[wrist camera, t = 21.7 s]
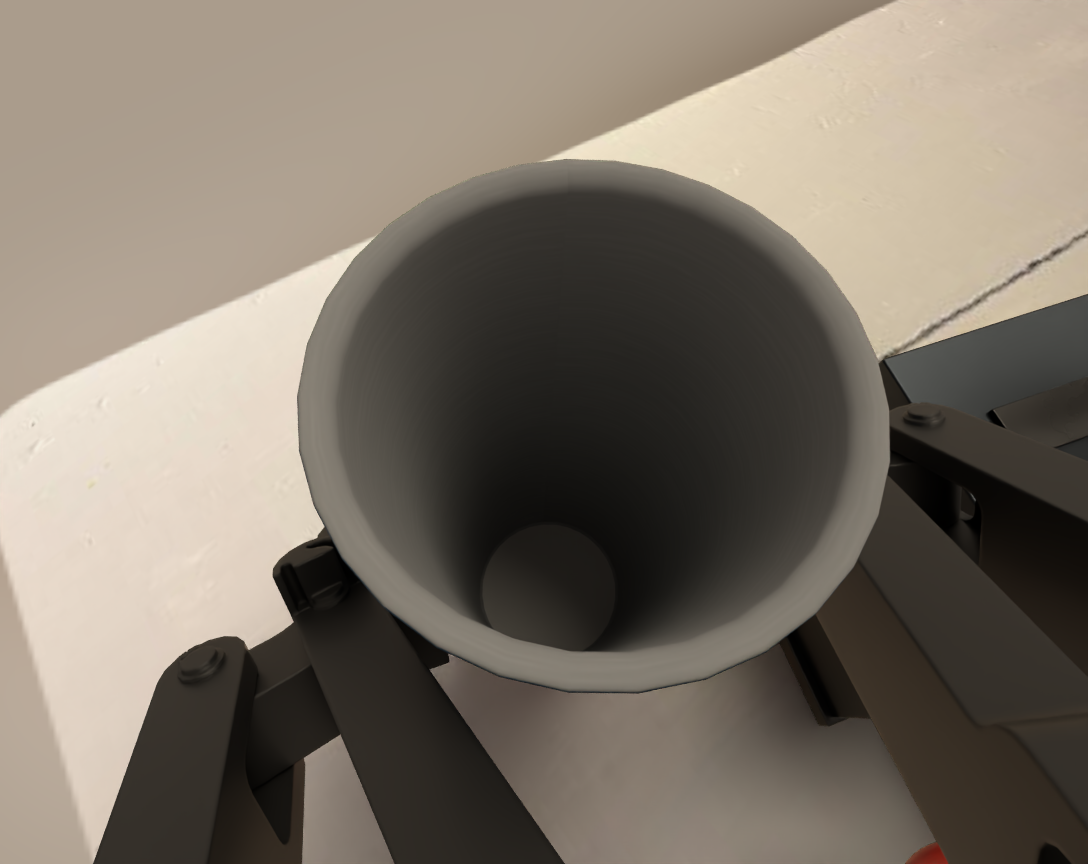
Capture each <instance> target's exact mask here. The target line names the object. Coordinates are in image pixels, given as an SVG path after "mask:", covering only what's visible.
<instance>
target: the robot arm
mask: <svg viewBox="0 0 1088 864" xmlns="http://www.w3.org/2000/svg"><path fill="white" fill-rule="evenodd" d="M889 439H890V463H889V468H888V473H887V477H886V482H885V487H884V491H883V496H882V501H881V505H880V510H879V515H878V517H877V519H876V522H875V524H874V526H873V528H872V530H871V532H870V534H869V536H868V538H867V540H866V543H865V545H864V547H863V549H862V551H861V553H860V555H859V557H858V559H857V561H856V563H855V566H854V568H853V569H852V570H851V571H850V573H849V574H848V575H847V576H846V578H845V579H844V580H843V581H842V582H841V584H840V585H839V586H838V587H837V589H836V590H835V591H834V592H833V594H832V595H831V596H830V597H829V598H828V600H827V601H826V602H825V603H824V605H823V606H822V607H821V608H820V610H819V611H818V612H817V613H816V616H817V618H818V620H819V622H820V624H821V625H822V627H823V629H824V631H825V633H826V635H827V637H828V639H829V640H830V642H831V644H832V646H833V648H834V650H835V652H836V654H837V655H838V657H839V659H840V661H841V663H842V665H843V667H844V669H845V670H846V672H847V674H848V676H849V678H850V680H851V682H852V684H853V685H854V687H855V689H856V691H857V693H858V695H859V697H860V699H861V701H862V702H863V704H864V706H865V708H866V710H867V712H868V714H869V716H870V717H871V719H872V721H873V723H874V725H875V727H876V729H877V731H878V732H879V734H880V736H881V738H882V740H883V742H884V744H885V746H886V747H887V749H888V751H889V753H890V755H891V757H892V759H893V761H894V762H895V764H896V766H897V768H898V770H899V772H900V774H901V776H902V777H903V779H904V781H905V783H906V785H907V787H908V789H909V791H910V792H911V794H912V796H913V798H914V800H915V802H916V804H917V806H918V807H919V809H920V811H921V813H922V815H923V817H924V819H925V821H926V822H927V824H928V826H929V828H930V830H931V832H932V834H933V836H934V838H935V839H936V841H937V843H938V845H939V847H940V849H941V851H942V853H943V854H944V856H945V858H946V860H947V862H948V864H1088V461H1086V460H1084V459H1081V458H1079V457H1076V456H1073V455H1071V454H1068V453H1066V452H1063V451H1061V450H1058V449H1056V448H1053V447H1051V446H1048V445H1046V444H1043V443H1041V442H1038V441H1036V440H1033V439H1031V438H1028V437H1026V436H1023V435H1020V434H1018V433H1015V432H1013V431H1010V430H1008V429H1005V428H1003V427H1000V426H998V425H995V424H993V423H990V422H988V421H985V420H983V419H980V418H978V417H975V416H973V415H970V414H967V413H965V412H962V411H960V410H957V409H955V408H951V407H948V406H944V405H937V404H931V403H928V402H920V404H919V403H911V404H909V405H905V406H900V407H897V408H895V409H892V410H890V411H889ZM962 488H964V489H965V490H967V491H968V492H969V493H971V494H972V495H973V497H974V498H975V499H976V501H975V513H974V516H971V515H968V514H967V513H965V512H963V511H961V491H962ZM273 578H274V581H275V583H276V585H277V587H278V589H279V591H280V593H281V595H282V598H283V600H284V602H285V604H286V606H287V608H288V610H289V612H290V614H291V617H292V619H293V621H294V622H293V623H292V624H291V625H290V626H289V627H287V628H286V629H285V630H283V631H282V632H280V633H279V634H277V635H275V636H274V637H272V638H270V639H269V640H267V641H265V642H263V643H261V644H259V645H258V646H256V647H254V648H252V649H250V650H248V648H247V646H246V644H245V642H244V641H243V640H241V639H240V638H238V637H232V636H224V637H220V638H216V639H212V640H209V641H206V642H204V643H202V644H200V645H196V646H194V647H193V648H191V649H189V650H188V652H185V653H183V654H182V655H181V656H179V657H178V658H177V659H176V660H175V661H174V662H173V663H172V664H171V665H170V666H169V667H168V668H167V669H166V670H165V671H164V673H163V674H162V676H161V678H160V679H159V681H158V683H157V685H156V688H155V691H154V694H153V697H152V700H151V702H150V705H149V708H148V711H147V714H146V716H145V719H144V722H143V725H142V728H141V731H140V733H139V736H138V739H137V742H136V745H135V747H134V750H133V753H132V756H131V759H130V762H129V764H128V767H127V770H126V773H125V776H124V778H123V781H122V784H121V787H120V790H119V793H118V795H117V798H116V801H115V804H114V807H113V809H112V812H111V815H110V818H109V821H108V824H107V826H106V829H105V832H104V835H103V838H102V840H101V843H100V846H99V849H98V852H97V855H96V857H95V860H94V863H93V864H302V846H303V817H304V787H305V762H304V757H306V756H307V755H309V754H311V753H312V752H314V751H315V750H317V749H318V748H320V747H321V746H323V745H325V744H326V743H328V742H329V741H331V740H332V739H334V738H335V737H337V736H339V735H340V734H341V737H342V739H343V741H344V744H345V746H346V748H347V751H348V753H349V756H350V758H351V760H352V763H353V765H354V768H355V770H356V772H357V775H358V777H359V780H360V782H361V784H362V787H363V789H364V792H365V794H366V796H367V799H368V801H369V804H370V806H371V808H372V811H373V813H374V816H375V818H376V820H377V823H378V825H379V828H380V830H381V832H382V835H383V837H384V840H385V842H386V844H387V847H388V849H389V852H390V854H391V856H392V859H393V861H394V864H564V862H563V861H562V859H561V858H560V856H559V855H558V854H557V852H556V851H555V849H554V848H553V846H552V845H551V844H550V842H549V841H548V839H547V838H546V836H545V835H544V833H543V832H542V831H541V829H540V828H539V826H538V825H537V823H536V822H535V821H534V819H533V818H532V816H531V815H530V813H529V812H528V811H527V809H526V808H525V806H524V805H523V803H522V802H521V801H520V799H519V798H518V796H517V795H516V793H515V792H514V790H513V789H512V788H511V786H510V785H509V783H508V782H507V780H506V779H505V778H504V776H503V775H502V773H501V772H500V770H499V769H498V768H497V766H496V765H495V763H494V762H493V760H492V759H491V758H490V756H489V755H488V753H487V752H486V750H485V749H484V747H483V746H482V745H481V743H480V742H479V740H478V739H477V737H476V736H475V735H474V733H473V732H472V730H471V729H470V727H469V726H468V725H467V723H466V722H465V720H464V719H463V717H462V716H461V715H460V713H459V712H458V710H457V709H456V707H455V706H454V704H453V703H452V702H451V700H450V699H449V697H448V696H447V694H446V693H445V692H444V690H443V689H442V687H441V686H440V684H439V683H438V682H437V680H436V679H435V677H434V676H433V674H432V673H431V672H430V670H429V669H432V668H435V667H437V666H440V665H443V664H446V663H448V662H449V656H448V653H447V652H445V651H443V650H440V649H438V648H436V647H435V646H434V645H432V644H431V643H430V642H428V641H427V640H426V639H424V638H423V637H422V636H421V635H419V634H418V633H417V632H415V631H414V630H413V629H411V628H410V627H409V626H407V625H406V624H405V623H403V622H402V621H401V620H399V619H398V618H397V617H395V616H394V615H393V614H391V613H390V612H389V611H387V610H386V609H385V608H383V606H382V605H381V604H380V603H379V602H378V601H377V599H376V598H375V597H374V596H373V595H372V594H371V592H370V591H369V590H368V589H367V588H366V587H365V585H364V584H363V583H362V582H361V581H360V579H359V578H358V577H357V576H356V575H355V574H354V572H353V571H352V570H351V569H350V568H349V567H348V565H347V564H346V563H345V562H344V561H343V560H342V558H341V556H340V554H339V552H338V551H337V549H336V547H335V545H334V543H333V541H332V539H331V537H330V535H329V533H328V532H327V530H326V528H325V527H324V528H323V530H322V531H321V532H320V533H319V535H318V538H316V539H314V540H311V541H308V542H305V543H303V544H301V545H300V546H298V547H296V548H294V549H292V550H291V551H289V552H288V553H287V554H286V555H284V556H283V557H282V558H281V559H280V560H279V561H278V562H277V564H276V565H275V567H274V568H273Z"/></svg>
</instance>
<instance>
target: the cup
mask: <svg viewBox="0 0 1088 864" xmlns="http://www.w3.org/2000/svg"><path fill="white" fill-rule="evenodd" d="M297 405H298V433H299V452H300V456H301V460H302V463H303V467H304V471H305V475H306V478H307V482H308V486H309V490H310V493H311V497H312V501H313V504H314V507H315V509H316V511H317V513H318V515H319V516H320V518H321V520H322V522H323V524H324V526H325V528H326V530H327V532H328V533H329V535H330V537H331V539H332V541H333V543H334V545H335V547H336V549H337V551H338V552H339V554H340V556H341V558H342V560H343V561H344V562H345V563H346V564H347V565H348V567H349V568H350V569H351V570H352V571H353V572H354V574H355V575H356V576H357V577H358V578H359V579H360V581H361V582H362V583H363V584H364V585H365V587H366V588H367V589H368V590H369V591H370V592H371V594H372V595H373V596H374V597H375V598H376V599H377V601H378V602H379V603H380V604H381V605H382V606H383V608H385V609H386V610H387V611H389V612H390V613H391V614H393V615H394V616H395V617H397V618H398V619H399V620H401V621H402V622H403V623H405V624H406V625H407V626H409V627H410V628H411V629H413V630H414V631H415V632H417V633H418V634H419V635H421V636H422V637H423V638H424V639H426V640H427V641H428V642H430V643H431V644H432V645H434V646H435V647H436V648H438V649H440V650H443V651H445V652H447V653H449V654H451V655H453V656H456V657H458V658H460V659H462V660H464V661H466V662H468V663H471V664H473V665H475V666H477V667H479V668H481V669H484V670H486V671H488V672H490V673H492V674H494V675H496V676H499V677H502V678H506V679H511V680H515V681H520V682H524V683H528V684H533V685H537V686H542V687H546V688H550V689H555V690H559V691H564V692H568V693H643V692H648V691H653V690H657V689H662V688H667V687H672V686H677V685H682V684H687V683H691V682H696V681H701V680H706V679H708V678H710V677H712V676H715V675H717V674H719V673H721V672H723V671H726V670H728V669H730V668H732V667H735V666H737V665H739V664H741V663H743V662H746V661H748V660H750V659H752V658H754V657H757V656H759V655H761V654H763V653H765V652H767V651H768V650H770V649H771V648H772V647H773V646H775V645H776V644H777V643H779V642H780V641H781V640H783V639H784V638H785V637H787V636H788V635H789V634H790V633H792V632H793V631H794V630H796V629H797V628H798V627H800V626H801V625H802V624H803V623H805V622H806V621H807V620H809V619H810V618H811V617H813V616H814V615H815V614H816V613H817V612H818V611H819V610H820V608H821V607H822V606H823V605H824V603H825V602H826V601H827V600H828V598H829V597H830V596H831V595H832V594H833V592H834V591H835V590H836V589H837V587H838V586H839V585H840V584H841V582H842V581H843V580H844V579H845V578H846V576H847V575H848V574H849V573H850V571H851V570H852V569H853V568H854V566H855V563H856V561H857V559H858V557H859V555H860V553H861V551H862V549H863V547H864V545H865V543H866V540H867V538H868V536H869V534H870V532H871V530H872V528H873V526H874V524H875V522H876V519H877V517H878V515H879V510H880V505H881V501H882V496H883V491H884V487H885V482H886V477H887V473H888V468H889V463H890V439H889V407H888V402H887V398H886V394H885V389H884V385H883V381H882V376H881V372H880V368H879V363H878V359H877V357H876V355H875V352H874V350H873V348H872V346H871V344H870V341H869V339H868V337H867V335H866V333H865V330H864V328H863V326H862V324H861V322H860V319H859V317H858V315H857V313H856V311H855V310H854V308H853V307H852V305H851V304H850V303H849V301H848V300H847V298H846V297H845V295H844V294H843V293H842V291H841V290H840V288H839V287H838V286H837V284H836V283H835V281H834V280H833V278H832V277H831V276H830V274H829V273H828V271H827V270H826V269H825V268H824V267H823V266H822V265H821V264H820V263H819V262H818V261H817V260H816V259H815V258H814V257H813V256H812V255H811V254H810V253H809V252H808V251H807V250H806V249H805V248H804V247H803V246H802V245H801V244H800V243H799V242H798V241H797V240H796V239H795V238H794V237H793V236H792V235H790V234H789V233H788V232H786V231H785V230H783V229H782V228H781V227H779V226H778V225H776V224H775V223H774V222H772V221H771V220H770V219H768V218H767V217H765V216H764V215H763V214H761V213H760V212H758V211H757V210H756V209H754V208H753V207H751V206H749V205H747V204H745V203H743V202H741V201H739V200H737V199H735V198H734V197H732V196H730V195H728V194H726V193H724V192H722V191H720V190H718V189H716V188H714V187H712V186H710V185H708V184H705V183H702V182H699V181H696V180H693V179H690V178H687V177H684V176H681V175H678V174H675V173H672V172H669V171H666V170H663V169H658V168H652V167H647V166H641V165H636V164H630V163H624V162H619V161H607V160H576V159H564V160H555V161H547V162H538V163H531V164H521V165H516V166H512V167H509V168H505V169H501V170H498V171H494V172H490V173H487V174H483V175H480V176H476V177H472V178H470V179H468V180H466V181H464V182H461V183H459V184H457V185H455V186H452V187H450V188H448V189H446V190H444V191H441V192H439V193H437V194H435V195H433V196H430V197H429V198H427V199H426V200H424V201H423V202H421V203H420V204H418V205H417V206H415V207H414V208H412V209H411V210H409V211H408V212H406V213H405V214H403V215H402V216H400V217H399V218H397V219H396V220H395V221H393V222H392V223H390V224H389V225H388V226H387V227H386V228H385V229H384V230H383V231H382V232H381V233H380V234H379V235H378V236H376V237H375V238H374V239H373V240H372V241H371V242H370V243H369V244H368V245H367V246H366V247H365V248H364V249H363V250H362V251H361V252H360V253H359V254H358V255H357V256H356V257H355V258H354V259H353V261H352V262H351V264H350V265H349V267H348V268H347V269H346V271H345V272H344V274H343V275H342V277H341V278H340V280H339V281H338V283H337V284H336V285H335V287H334V288H333V290H332V291H331V293H330V294H329V296H328V297H327V298H326V301H325V303H324V305H323V308H322V310H321V313H320V315H319V317H318V320H317V322H316V324H315V327H314V329H313V331H312V334H311V336H310V339H309V341H308V343H307V347H306V352H305V357H304V363H303V368H302V373H301V379H300V384H299V389H298V395H297Z"/></svg>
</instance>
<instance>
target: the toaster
mask: <svg viewBox="0 0 1088 864" xmlns="http://www.w3.org/2000/svg"><path fill="white" fill-rule="evenodd" d="M879 368H880V372H881V376H882V381H883V385H884V389H885V394H886V398H887V402H888V407H889V411H890V410H892V409H895V408H897V407H900V406H905V405H909V404H911V403H919V404H920V402H928V403H931V404H937V405H944V406H948V407H951V408H955V409H957V410H960V411H962V412H965V413H967V414H970V415H973V416H975V417H978V418H980V419H983V420H985V421H988V422H990V423H993V424H995V425H998V426H1000V427H1003V428H1005V429H1008V430H1010V431H1013V432H1015V433H1018V434H1020V435H1023V436H1026V437H1028V438H1031V439H1033V440H1036V441H1038V442H1041V443H1043V444H1046V445H1048V446H1051V447H1053V448H1056V449H1058V450H1061V451H1063V452H1066V453H1068V454H1071V455H1073V456H1076V457H1079V458H1081V459H1084V460H1086V461H1088V294H1086V295H1083V296H1080V297H1077V298H1074V299H1070V300H1067V301H1064V302H1061V303H1058V304H1055V305H1052V306H1048V307H1045V308H1042V309H1039V310H1036V311H1033V312H1030V313H1026V314H1023V315H1020V316H1017V317H1014V318H1011V319H1008V320H1004V321H1001V322H998V323H995V324H992V325H989V326H986V327H983V328H979V329H976V330H973V331H970V332H967V333H964V334H961V335H957V336H954V337H951V338H948V339H945V340H942V341H939V342H935V343H932V344H929V345H926V346H923V347H920V348H917V349H913V350H910V351H907V352H904V353H901V354H898V355H895V356H891V357H888V358H885V359H883V360H882V361H881V362H880V363H879ZM975 501H976V499H975V498H974V497H973V495H972V494H971V493H969V492H968V491H967V490H965V489H964V488H962V491H961V511H963V512H965V513H967V514H968V515H971V516H974V513H975ZM780 644H781V646H782V648H783V651H784V653H785V655H786V657H787V659H788V661H789V663H790V665H791V668H792V670H793V672H794V674H795V676H796V678H797V680H798V682H799V684H800V687H801V689H802V691H803V693H804V695H805V697H806V699H807V701H808V704H809V706H810V708H811V710H812V712H813V714H814V716H815V718H816V721H817V723H818V725H819V726H831V725H834V724H836V723H838V722H841V721H843V720H846V719H848V718H868V719H871V717H870V716H869V714H868V712H867V710H866V708H865V706H864V704H863V702H862V701H861V699H860V697H859V695H858V693H857V691H856V689H855V687H854V685H853V684H852V682H851V680H850V678H849V676H848V674H847V672H846V670H845V669H844V667H843V665H842V663H841V661H840V659H839V657H838V655H837V654H836V652H835V650H834V648H833V646H832V644H831V642H830V640H829V639H828V637H827V635H826V633H825V631H824V629H823V627H822V625H821V624H820V622H819V620H818V618H817V616H816V614H815V615H814V616H813V617H811V618H810V619H809V620H807V621H806V622H805V623H803V624H802V625H801V626H800V627H798V628H797V629H796V630H794V631H793V632H792V633H790V634H789V635H788V636H787V637H785V638H784V639H783V640H781V641H780Z"/></svg>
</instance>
